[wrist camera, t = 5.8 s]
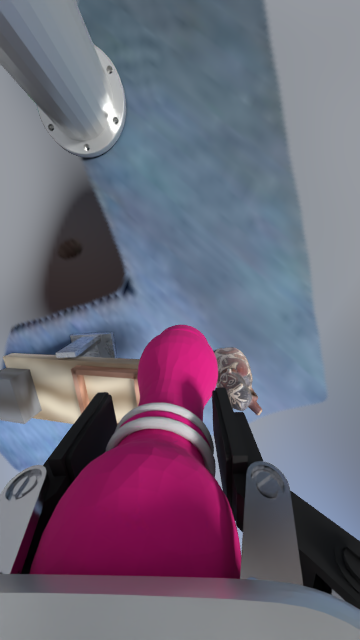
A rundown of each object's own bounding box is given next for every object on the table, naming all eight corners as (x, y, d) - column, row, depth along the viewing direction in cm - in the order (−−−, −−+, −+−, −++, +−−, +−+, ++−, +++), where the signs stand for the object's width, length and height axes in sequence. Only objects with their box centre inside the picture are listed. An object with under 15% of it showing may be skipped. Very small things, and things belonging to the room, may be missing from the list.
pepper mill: (193, 388, 22) (169, 1188, 3) (140, 359, 22) (-301, 1018, 2) (225, 340, 20) (814, 1605, 1) (169, 308, 20) (-579, 1172, 1)
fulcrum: (73, 333, 36) (39, 352, 28) (113, 332, 35) (90, 350, 27) (87, 399, 40) (61, 432, 31) (123, 398, 39) (106, 431, 31)
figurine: (225, 339, 35) (244, 373, 23) (253, 360, 36) (284, 403, 24) (202, 365, 37) (208, 409, 25) (229, 385, 37) (247, 436, 26)
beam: (12, 353, 32) (-20, 365, 28) (145, 359, 26) (131, 376, 22) (30, 410, 35) (4, 430, 31) (153, 427, 30) (142, 453, 25)
